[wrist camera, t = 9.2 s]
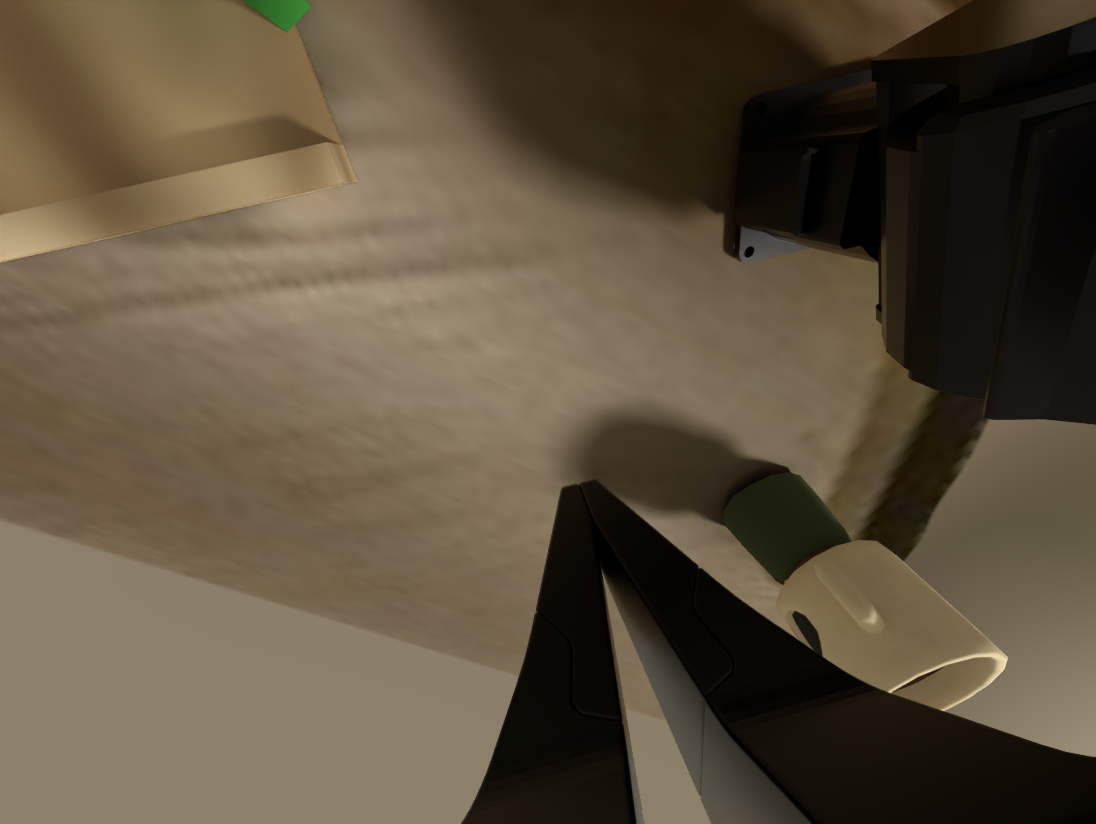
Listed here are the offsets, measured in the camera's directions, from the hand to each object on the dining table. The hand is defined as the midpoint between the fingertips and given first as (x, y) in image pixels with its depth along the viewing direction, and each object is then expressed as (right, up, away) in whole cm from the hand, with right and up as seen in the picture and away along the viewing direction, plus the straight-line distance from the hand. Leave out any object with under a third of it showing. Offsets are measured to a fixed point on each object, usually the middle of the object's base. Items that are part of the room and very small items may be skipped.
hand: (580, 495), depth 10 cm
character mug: (+15, -4, +20) cm, 25 cm away
